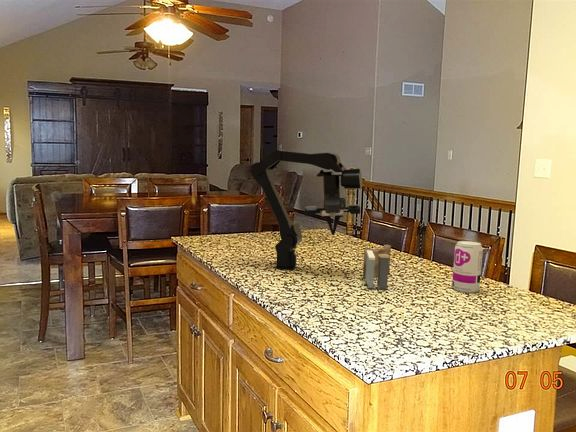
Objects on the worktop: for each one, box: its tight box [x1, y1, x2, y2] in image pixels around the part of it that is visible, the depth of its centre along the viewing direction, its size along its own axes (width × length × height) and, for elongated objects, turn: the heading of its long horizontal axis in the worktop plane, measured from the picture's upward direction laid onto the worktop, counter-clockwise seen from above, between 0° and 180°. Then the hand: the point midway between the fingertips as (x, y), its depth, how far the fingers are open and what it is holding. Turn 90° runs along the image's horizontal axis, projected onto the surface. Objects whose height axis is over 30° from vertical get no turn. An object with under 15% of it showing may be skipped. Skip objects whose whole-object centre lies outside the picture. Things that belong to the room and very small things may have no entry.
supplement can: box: [451, 240, 484, 294], centre depth 168 cm, size 8×8×15 cm
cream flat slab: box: [364, 250, 375, 290], centre depth 170 cm, size 12×2×10 cm, turn 176°
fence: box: [362, 244, 392, 281], centre depth 182 cm, size 14×3×10 cm, turn 138°
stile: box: [376, 254, 391, 290], centre depth 166 cm, size 3×3×11 cm
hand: (333, 235), depth 184 cm, fingers closed
